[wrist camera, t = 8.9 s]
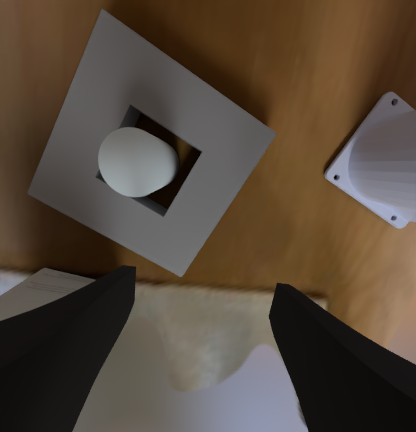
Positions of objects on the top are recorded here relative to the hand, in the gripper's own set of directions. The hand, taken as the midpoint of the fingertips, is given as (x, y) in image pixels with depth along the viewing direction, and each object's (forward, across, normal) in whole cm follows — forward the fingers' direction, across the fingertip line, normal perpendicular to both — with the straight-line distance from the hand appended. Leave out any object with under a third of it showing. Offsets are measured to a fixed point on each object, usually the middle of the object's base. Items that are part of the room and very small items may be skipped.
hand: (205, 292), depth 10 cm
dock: (+9, +5, -6) cm, 12 cm away
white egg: (+9, +5, -6) cm, 12 cm away
